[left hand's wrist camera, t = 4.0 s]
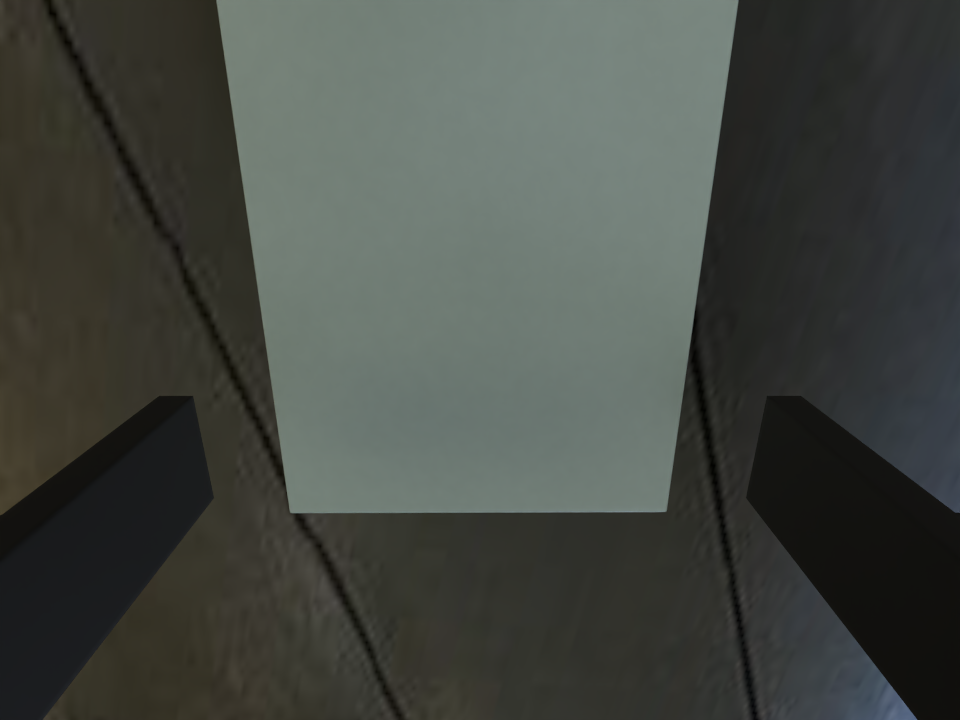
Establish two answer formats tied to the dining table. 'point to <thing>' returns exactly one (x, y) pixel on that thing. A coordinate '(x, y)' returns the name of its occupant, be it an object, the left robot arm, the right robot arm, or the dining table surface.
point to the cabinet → (477, 242)
